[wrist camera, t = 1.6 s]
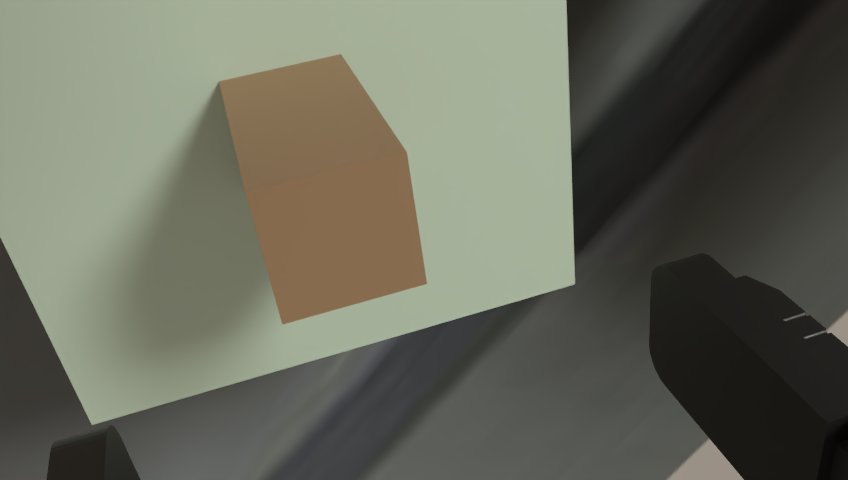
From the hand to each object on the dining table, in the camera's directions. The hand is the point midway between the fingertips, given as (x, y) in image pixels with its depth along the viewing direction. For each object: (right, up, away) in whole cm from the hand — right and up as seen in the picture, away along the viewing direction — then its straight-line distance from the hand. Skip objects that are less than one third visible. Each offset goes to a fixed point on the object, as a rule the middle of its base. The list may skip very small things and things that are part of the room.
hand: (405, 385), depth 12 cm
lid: (-3, +5, +9) cm, 11 cm away
